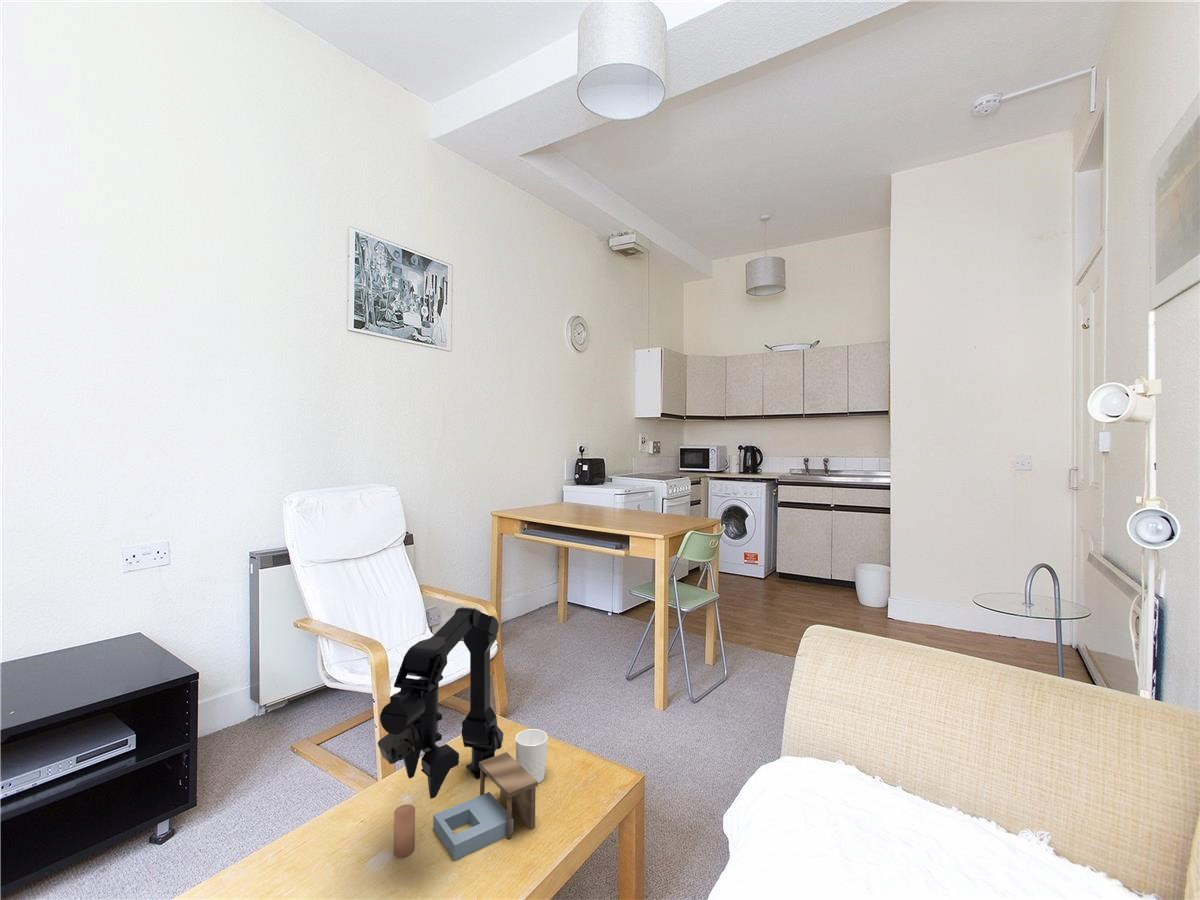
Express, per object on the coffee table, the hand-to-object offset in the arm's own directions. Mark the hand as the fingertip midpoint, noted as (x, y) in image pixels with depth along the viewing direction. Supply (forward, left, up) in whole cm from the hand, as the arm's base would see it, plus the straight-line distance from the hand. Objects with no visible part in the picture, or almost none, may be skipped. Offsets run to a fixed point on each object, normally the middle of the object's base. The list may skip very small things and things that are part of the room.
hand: (421, 787), depth 110 cm
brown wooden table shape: (+1, +19, -13) cm, 23 cm away
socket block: (+1, +11, -13) cm, 17 cm away
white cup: (-8, +30, -13) cm, 34 cm away
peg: (-2, -3, -13) cm, 13 cm away
